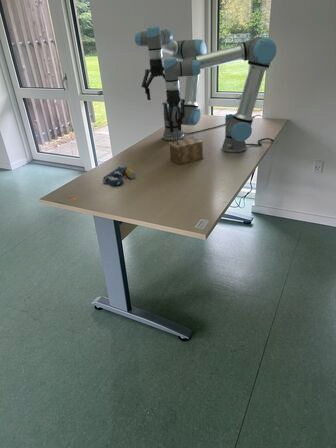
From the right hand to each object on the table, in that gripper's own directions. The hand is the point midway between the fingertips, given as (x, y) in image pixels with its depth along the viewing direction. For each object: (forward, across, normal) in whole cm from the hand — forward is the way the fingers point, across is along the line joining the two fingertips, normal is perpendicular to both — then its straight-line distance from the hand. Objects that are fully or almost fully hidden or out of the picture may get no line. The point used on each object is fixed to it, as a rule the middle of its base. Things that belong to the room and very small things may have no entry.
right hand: (175, 130), depth 197 cm
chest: (+19, +6, 0) cm, 20 cm away
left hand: (-17, -2, +14) cm, 22 cm away
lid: (+9, +6, 0) cm, 11 cm away
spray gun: (+19, -39, -4) cm, 44 cm away
